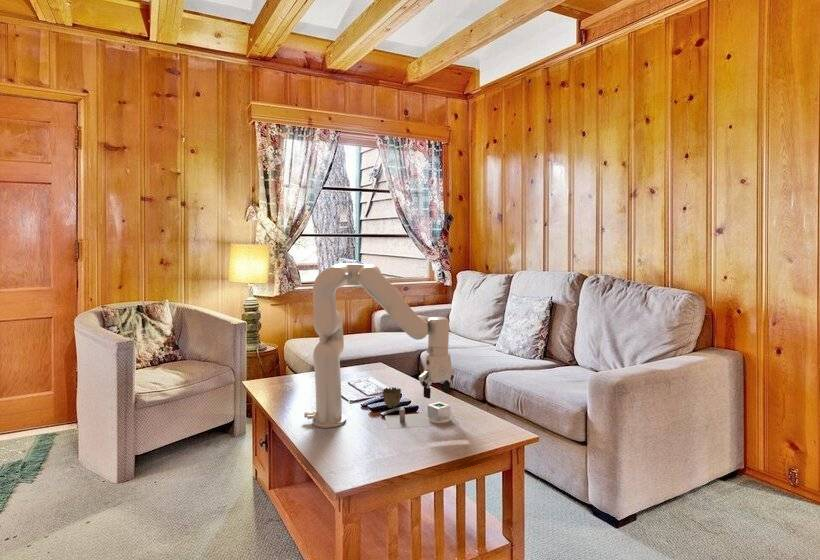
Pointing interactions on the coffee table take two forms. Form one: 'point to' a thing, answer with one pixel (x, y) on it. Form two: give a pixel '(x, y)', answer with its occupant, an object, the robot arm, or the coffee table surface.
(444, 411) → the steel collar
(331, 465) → the coffee table surface
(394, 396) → the cup
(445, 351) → the robot arm
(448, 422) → the tool board
